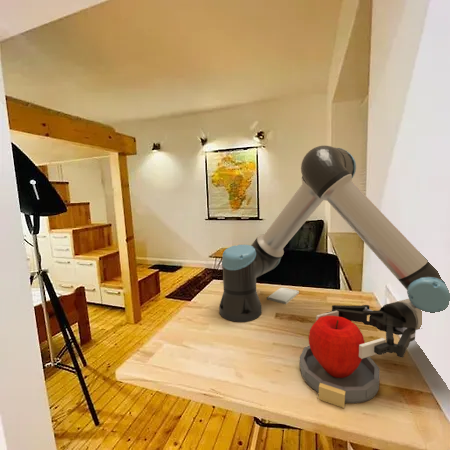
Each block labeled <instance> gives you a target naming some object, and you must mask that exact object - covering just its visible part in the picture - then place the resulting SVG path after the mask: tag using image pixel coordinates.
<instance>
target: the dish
mask: <svg viewBox="0 0 450 450" xmlns="http://www.w3.org/2000/svg"><path fill="white" fill-rule="evenodd" d="M299 367H300V373H301V376H302V378H303V380H304V382H305V383H306V384H307V385H308V386H309V387H310V388H311V389H312V390H314V391H315V392H316V393H318V400H319V401H323V402H326V403H328V404H331V405H334V406H337V407H339V408H343V409H345V406H346V404H361V403H365V402H368V401H370V400H372V399H373V398H374V397H375V396H377V394H378V392H379V390H380V372H381V371H380V367H379V365H377V363H376V362H375V361H374V359H373V358H372V357H371V356H369V357H366V358H363V359H362V360H361V362H360V364H359V366H358V367H357V369H356V370H355V371H354V372H353V373H352V374H351V375H349V376H348V377H345V378H335V377H333V376H331V375H330V374H329V373H327V372H326V371H325V370H324V368H323V367H322V366H321V365H320V363H319V362H318V361H317V359H316V358H315V357H314V355H313V353H312V351H311V348H310V345H307V346H305V347H304V348H303V350H302V352H301V353H300V356H299Z"/></svg>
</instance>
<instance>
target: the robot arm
mask: <svg viewBox="0 0 450 450" xmlns="http://www.w3.org/2000/svg"><path fill="white" fill-rule="evenodd" d="M356 170H357V164H356V160H355V158H354V156H353V155H352V154H351V153H350V152H349V151H348V150H345V149H344V148H341V147H335V146H330V145H319V146H315V147H314V148H312V149H309V151H308V152H307V153H306V154H305V155H304V157H303V159H302V161H301V164H300V172H301V185H300V187H299V188H298V189H297V191H296V192H295V193H294V194H293V196H292V197H291V198H290V200H289V201H288V202H287V204H286V205H285V206H284V208H282V211H280V213H279V215H277V217H276V218H275V220H274V221H273V222H272V223H271V225H270V227H268V229H267V230H266V231H265V233H261V234H259V235H258V236H257V237H256V238H255V240H254V241H253V242H252V243H251V244H237V245H231V246H229V247H227V248H226V249H224V251H223V253H222V260H221V265H222V283H223V284H222V285H223V293H222V294H221V299H220V303H219V314H220V316H221V317H222V318H223V319H225V320H228V321H232V322H237V323H239V322H240V323H242V322H244V323H245V322H250V321H253V320H255V319H257V318H260V316H261V315H262V311H263V310H262V303H261V300H260V298H259V295H258V292H257V278H260V277H261V276H262V275H264V274H266V273H268V272H270V271H272V270H274V269H275V268H276V267H278V265H279V264H280V262H281V259H282V257H283V255H284V253H285V251H284V248H285V247H286V245H287V244H288V243H289V242H290V241H291V240H292V239H293V237H294V236H295V235H296V234H297V232H298V231H299V230H300V229H301V228H302V227H303V225H305V223H306V221H308V219H309V218H310V217H311V215H313V213H314V212H315V211H316V210H317V209H318V207H319V206H321V204H322V203H323V202H324V201H327V203H329V204H330V205H331V207H332V208H333V209H334V210H335V211H336V212H337V213H338V215H339V216H340V217H341V218H342V219H343V220H344V221H345V222H346V224H347V225H348V226H349V227H350V228H351V229H352V230H353V231H354V233H356V235H358V237H359V238H360V239H361V240H362V241H363V243H365V245H366V246H367V247H368V248H369V249H370V250H371V252H373V253H374V255H375V256H376V257H377V258H378V259H379V260H380V261H381V263H383V265H385V268H386V269H388V270H389V272H390V273H392V275H393V276H394V277H395V278H396V279H397V281H399V283H400V284H401V285H402V286H403V287H404V288H405V290H406V293H407V296H408V298H406V299H401V300H398V301H394V302H390V303H386V304H384V305H383V306H382V307H380V309H379V310H378V309H376V310H372V309H370V307H371V306H370V305H369V304H363V305H338V304H337V305H334V304H333V305H332V306H331V311H328V312H324V313H321V314H316V315H315V322H316V321H317V320H318V319H319V318H320V317H324V316H339V317H343V318H346V319H348V320H350V321H352V322H355V323H361V324H362V323H363V325H365V326H372V327H374V328H376V329H377V330H379V331H380V332H385V338H384V337H380V338H377V339H374V340H371V341H368V342H365V343H364V344H360V345H359V357H360V358H361V359H363V358H366V357H369V356H370V357H371V356H375V355H385V354H387V353H389V354H395V355H396V356H397V357H399V358H404V357H405V354H406V352H407V350H408V348H409V345H410V344H411V342H413V341H415V340H416V331H417V330H421V329H420V327H421V325H422V311H425V312H430V313H435V312H440V311H443V310H445V309H446V308H447V307H448V305H449V301H450V293H449V290H448V288H447V286H446V284H445V282H444V281H443V280H442V279H441V277H440V275H439V273H438V271H437V270H436V269H435V268H434V267H433V266H432V265H431V264H430V263H429V262H428V260H427V259H426V258H425V257H424V256H423V255H422V254H421V253H420V251H419V249H417V248H416V247H415V245H414V244H412V242H411V241H409V239H407V237H406V236H405V235H404V234H403V233H402V232H401V231H400V230H399V229H398V228H397V227H396V225H395V224H393V223H392V221H390V220H389V218H388V217H386V215H385V214H383V212H382V211H381V210H380V209H379V208H378V207H377V206H376V205H375V204H374V202H372V200H370V199H369V197H368V196H366V195H365V193H363V191H361V189H360V188H359V187H358V185H356V184H355V183H354V181H352V180H353V178H354V176H355V174H356ZM421 310H422V311H421ZM368 317H369V318H368ZM394 335H397V336H400V338H399V340H398V342H397V343H396V342H395V337H394Z"/></svg>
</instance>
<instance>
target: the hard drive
mask: <svg viewBox="0 0 450 450" xmlns="http://www.w3.org/2000/svg"><path fill="white" fill-rule="evenodd" d="M299 293H300V291H299V290H296V289H294V288H293V289H292V288H288V287H279V288H278V289H276V290H275V291H274V292H272V293H271V294H270V295H268V296H267V297H266V300H268V301H271V302H276V303H278V304H283V305H287V304H288V303H289V302H291V300H292V301H293V299H294V298H295V297H296V296H298V295H299Z"/></svg>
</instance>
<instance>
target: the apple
mask: <svg viewBox="0 0 450 450" xmlns="http://www.w3.org/2000/svg"><path fill="white" fill-rule="evenodd" d="M365 341H366V340H365V338H364V335H363V333H362V331H361V330H360V328H359V326H357V325H356V324H355V323H354V321H350V320H348V319H346V318H343V317H339V316H324V317H320V318H319V319H318V320H317V321H316V320H315V322H314V323H313V324H312V326H311V328H310V329H309V332H308V344H309V345H310V348H311V351H312V353H313V355H314V357H315V358H316V359H317V361H318V362H319V363H320V365H321V366H322V367H323V368H324V370H325V371H326V372H327V373H329V374H330V375H331V376H333V377H335V378H345V377H348V376H349V375H351V374H352V373H353V372H354V371H355V370H356V369H357V367H358V366H359V364H360V362H361V360H362V359H361V358H360V357H359V345H360V344H364V343H366V342H365ZM309 345H308V346H309Z"/></svg>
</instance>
